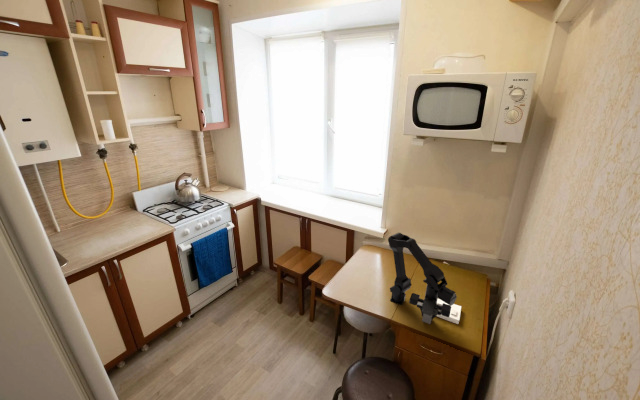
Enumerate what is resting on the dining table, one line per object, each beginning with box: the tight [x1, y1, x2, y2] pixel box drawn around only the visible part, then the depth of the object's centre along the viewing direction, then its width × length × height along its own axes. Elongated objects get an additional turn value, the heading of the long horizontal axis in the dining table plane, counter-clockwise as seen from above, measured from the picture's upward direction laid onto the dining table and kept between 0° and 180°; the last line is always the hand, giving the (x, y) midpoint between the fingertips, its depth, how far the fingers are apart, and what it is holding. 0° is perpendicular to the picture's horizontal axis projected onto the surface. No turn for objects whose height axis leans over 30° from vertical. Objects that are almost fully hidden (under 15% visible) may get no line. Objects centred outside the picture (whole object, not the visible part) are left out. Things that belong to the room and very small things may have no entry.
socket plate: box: [435, 298, 462, 325], centre depth 144 cm, size 14×11×3 cm
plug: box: [421, 313, 432, 325], centre depth 138 cm, size 4×4×8 cm
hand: (427, 317), depth 139 cm, fingers open, 4 cm apart
